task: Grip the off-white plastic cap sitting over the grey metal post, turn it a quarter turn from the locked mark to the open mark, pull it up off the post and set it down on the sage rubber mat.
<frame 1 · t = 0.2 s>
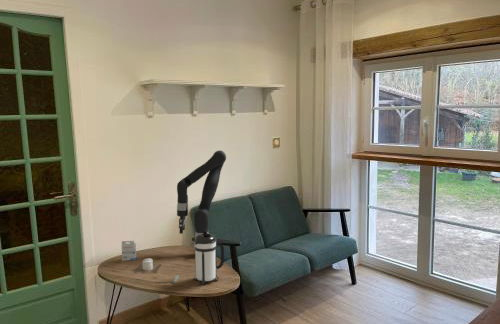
hand: (182, 231, 259), 17 cm above the table, tool pointing down, fingers open, 8 cm apart
ink box: (129, 261, 251), on the table
coffee press: (207, 279, 221), on the table
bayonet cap: (147, 268, 234), point 1 cm above the table, touching post base
post base: (147, 270, 234), on the table
sage mat: (167, 279, 221), on the table
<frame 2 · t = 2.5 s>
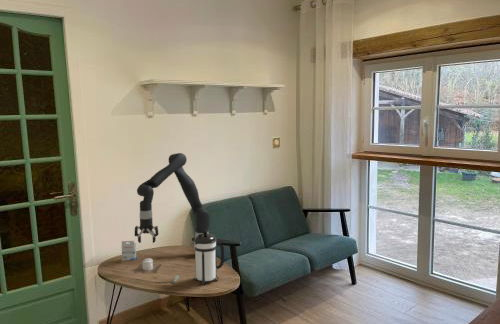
hand: (146, 242, 232), 18 cm above the table, tool pointing down, fingers open, 8 cm apart
nothing on the table moved.
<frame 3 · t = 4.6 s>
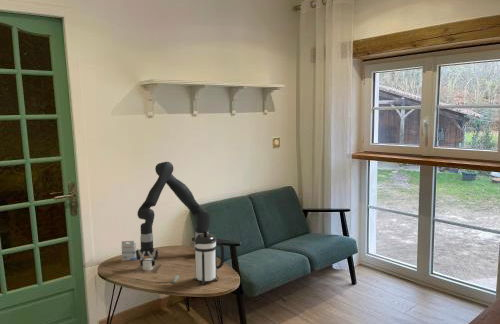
hand: (147, 265, 234), 3 cm above the table, tool pointing down, fingers closed on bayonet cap, 6 cm apart
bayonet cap: (147, 268, 234), point 1 cm above the table, touching gripper, post base
everything else where it was.
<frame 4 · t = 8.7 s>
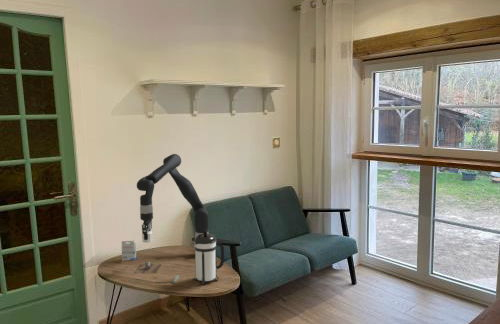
hand: (147, 237, 231), 21 cm above the table, tool pointing down, fingers closed on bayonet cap, 6 cm apart
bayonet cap: (147, 240, 232), point 20 cm above the table, touching gripper
everything else where it was.
when the fingers open (4 cm above the table, at t = 12.6 s): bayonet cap drops 2 cm, resting on sage mat.
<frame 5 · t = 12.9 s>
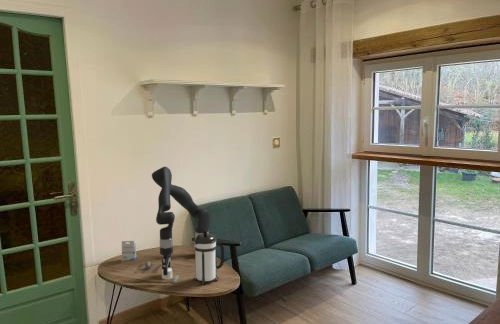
hand: (167, 272, 221), 5 cm above the table, tool pointing down, fingers open, 8 cm apart
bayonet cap: (167, 278, 221), point 1 cm above the table, touching sage mat
everything else where it was.
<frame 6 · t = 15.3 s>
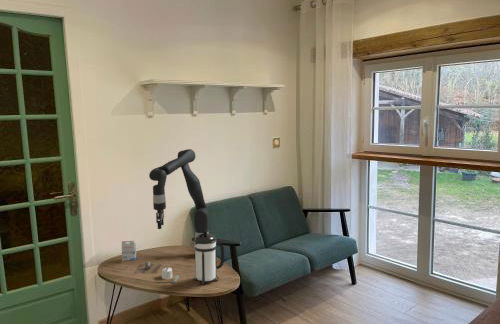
hand: (160, 226, 233), 28 cm above the table, tool pointing down, fingers open, 8 cm apart
nothing on the table moved.
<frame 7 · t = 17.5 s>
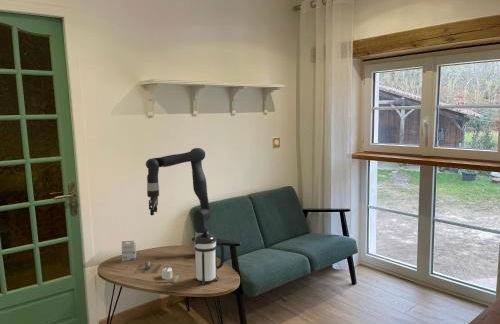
hand: (153, 213, 246), 33 cm above the table, tool pointing down, fingers open, 8 cm apart
nothing on the table moved.
at the end: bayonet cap inside the target area (0.1 cm from its centre), point 0.6 cm above the table; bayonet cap tilted 0°; the gripper is holding nothing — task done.
